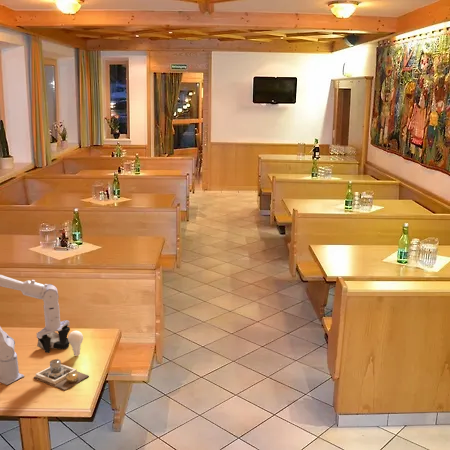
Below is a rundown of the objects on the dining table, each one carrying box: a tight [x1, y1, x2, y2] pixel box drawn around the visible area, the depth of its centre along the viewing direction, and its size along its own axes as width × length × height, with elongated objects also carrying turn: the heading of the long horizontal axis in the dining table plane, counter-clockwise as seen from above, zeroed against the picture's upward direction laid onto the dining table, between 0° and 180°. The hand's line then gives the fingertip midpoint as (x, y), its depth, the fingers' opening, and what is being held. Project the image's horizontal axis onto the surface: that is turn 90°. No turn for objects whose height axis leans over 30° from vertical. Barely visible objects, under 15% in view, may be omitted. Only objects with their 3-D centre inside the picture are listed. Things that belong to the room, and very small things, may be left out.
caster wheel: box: [36, 331, 70, 351], centre depth 246 cm, size 7×11×10 cm
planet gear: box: [46, 358, 67, 379], centre depth 221 cm, size 8×8×6 cm
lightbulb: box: [67, 330, 84, 357], centre depth 237 cm, size 6×6×11 cm
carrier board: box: [33, 370, 90, 391], centre depth 220 cm, size 18×12×1 cm
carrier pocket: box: [35, 363, 78, 384], centre depth 222 cm, size 11×11×1 cm
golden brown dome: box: [66, 371, 78, 384], centre depth 217 cm, size 4×4×2 cm
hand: (55, 348), depth 224 cm, fingers open, 7 cm apart
